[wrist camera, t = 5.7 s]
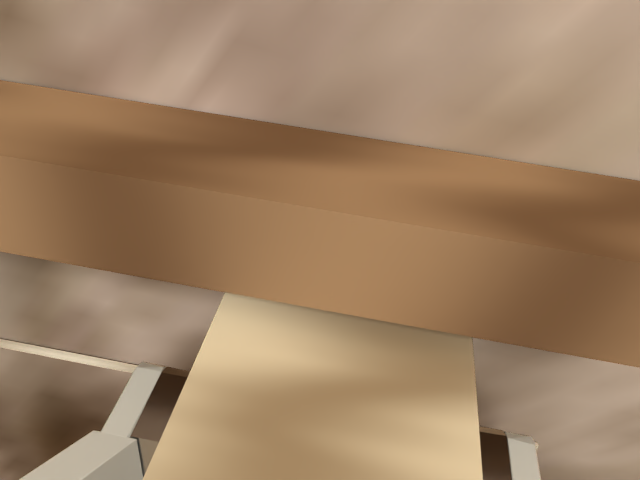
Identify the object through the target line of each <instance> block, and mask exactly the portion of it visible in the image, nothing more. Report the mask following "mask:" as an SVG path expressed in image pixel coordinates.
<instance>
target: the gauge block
mask: <svg viewBox="0 0 640 480" xmlns="http://www.w3.org/2000/svg"><path fill="white" fill-rule="evenodd" d="M143 480H483V474H482V461H481V447H480V434H479V420H478V407H477V393H476V380H475V366H474V353H473V339H472V337H469V336H463V335H458V334H452V333H447V332H441V331H436V330H430V329H425V328H419V327H414V326H408V325H403V324H397V323H392V322H386V321H381V320H375V319H370V318H364V317H359V316H353V315H348V314H342V313H337V312H331V311H326V310H320V309H315V308H309V307H304V306H298V305H293V304H287V303H282V302H276V301H270V300H265V299H259V298H254V297H248V296H243V295H237V294H232V293H226V292H225V294H224V296H223V298H222V301H221V303H220V305H219V308H218V310H217V312H216V314H215V317H214V319H213V321H212V323H211V326H210V328H209V330H208V332H207V335H206V337H205V339H204V341H203V344H202V346H201V348H200V351H199V353H198V355H197V357H196V360H195V362H194V364H193V366H192V369H191V371H190V373H189V375H188V378H187V380H186V382H185V384H184V387H183V389H182V391H181V394H180V396H179V398H178V400H177V403H176V405H175V407H174V409H173V412H172V414H171V416H170V418H169V421H168V423H167V425H166V428H165V430H164V432H163V434H162V437H161V439H160V441H159V443H158V446H157V448H156V450H155V452H154V455H153V457H152V459H151V461H150V464H149V466H148V468H147V471H146V473H145V475H144V477H143Z"/></svg>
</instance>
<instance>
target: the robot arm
mask: <svg viewBox="0 0 640 480" xmlns="http://www.w3.org/2000/svg"><path fill="white" fill-rule="evenodd" d="M189 373H190V371H185V370H180V369H176V368H171V367H167V366H162V365H157V364H152V363H147V362H141V363H140V364H139V365H138V366H137V367H136V368H135V370H134V372H133V374H132V375H131V377H130V379H129V381H128V383H127V385H126V386H125V388H124V390H123V392H122V394H121V395H120V397H119V399H118V401H117V403H116V405H115V406H114V408H113V410H112V412H111V414H110V416H109V417H108V419H107V421H106V423H105V425H104V427H103V428H102V430H101V431H95V430H93V431H92V432H90V433H88V434H87V435H85V436H84V437H82V438H81V439H79V440H78V441H76V442H75V443H73V444H72V445H70V446H69V447H67V448H66V449H64V450H63V451H61V452H60V453H58V454H57V455H55V456H54V457H52V458H51V459H49V460H48V461H46V462H45V463H43V464H42V465H40V466H39V467H37V468H36V469H34V470H33V471H31V472H30V473H28V474H27V475H25V476H24V477H22V478H21V479H19V480H143V477H144V475H145V473H146V471H147V468H148V466H149V464H150V461H151V459H152V457H153V455H154V452H155V450H156V448H157V446H158V443H159V441H160V439H161V437H162V434H163V432H164V430H165V428H166V425H167V423H168V421H169V418H170V416H171V414H172V412H173V409H174V407H175V405H176V403H177V400H178V398H179V396H180V394H181V391H182V389H183V387H184V384H185V382H186V380H187V378H188V375H189ZM479 434H480V447H481V461H482V474H483V480H541V476H540V470H539V464H538V458H537V452H536V446H535V442H534V440H533V438H532V437H531V436H527V435H521V434H516V433H510V432H503V431H502V430H498V429H492V428H487V427H481V426H479Z"/></svg>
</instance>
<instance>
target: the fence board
mask: <svg viewBox="0 0 640 480" xmlns="http://www.w3.org/2000/svg"><path fill="white" fill-rule="evenodd" d="M0 252H6V253H12V254H17V255H23V256H28V257H34V258H39V259H45V260H50V261H56V262H61V263H67V264H72V265H78V266H83V267H89V268H94V269H100V270H105V271H111V272H116V273H122V274H127V275H133V276H138V277H144V278H149V279H155V280H160V281H166V282H171V283H177V284H182V285H188V286H193V287H199V288H204V289H210V290H215V291H221V292H226V293H232V294H237V295H243V296H248V297H254V298H259V299H265V300H270V301H276V302H282V303H287V304H293V305H298V306H304V307H309V308H315V309H320V310H326V311H331V312H337V313H342V314H348V315H353V316H359V317H364V318H370V319H375V320H381V321H386V322H392V323H397V324H403V325H408V326H414V327H419V328H425V329H430V330H436V331H441V332H447V333H452V334H458V335H463V336H469V337H474V338H480V339H485V340H491V341H496V342H502V343H507V344H513V345H518V346H524V347H529V348H535V349H540V350H546V351H552V352H557V353H563V354H568V355H574V356H579V357H585V358H590V359H596V360H601V361H607V362H612V363H618V364H623V365H629V366H634V367H640V181H637V180H630V179H624V178H618V177H611V176H605V175H599V174H592V173H586V172H580V171H573V170H567V169H560V168H554V167H548V166H541V165H535V164H529V163H522V162H516V161H510V160H503V159H497V158H491V157H484V156H478V155H472V154H465V153H459V152H453V151H446V150H440V149H434V148H427V147H421V146H415V145H408V144H402V143H396V142H389V141H383V140H376V139H370V138H364V137H357V136H351V135H345V134H338V133H332V132H326V131H319V130H313V129H307V128H300V127H294V126H288V125H281V124H275V123H269V122H262V121H256V120H250V119H243V118H237V117H231V116H224V115H218V114H212V113H205V112H199V111H192V110H186V109H180V108H173V107H167V106H161V105H154V104H148V103H142V102H135V101H129V100H123V99H116V98H110V97H104V96H97V95H91V94H85V93H78V92H72V91H66V90H59V89H53V88H47V87H40V86H34V85H27V84H21V83H15V82H8V81H2V80H0ZM0 347H1V348H6V349H11V350H16V351H21V352H26V353H31V354H37V355H42V356H47V357H52V358H57V359H62V360H67V361H73V362H78V363H83V364H88V365H93V366H98V367H103V368H108V369H114V370H119V371H124V372H129V373H133V372H134V370H135V368H136V367H137V366H138V365H133V364H128V363H123V362H118V361H112V360H107V359H102V358H97V357H92V356H87V355H81V354H76V353H71V352H66V351H61V350H56V349H50V348H45V347H40V346H35V345H30V344H25V343H19V342H14V341H9V340H4V339H0ZM535 446H536V450H537V449H538V447H539V445H538V443H536V442H535Z"/></svg>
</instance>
